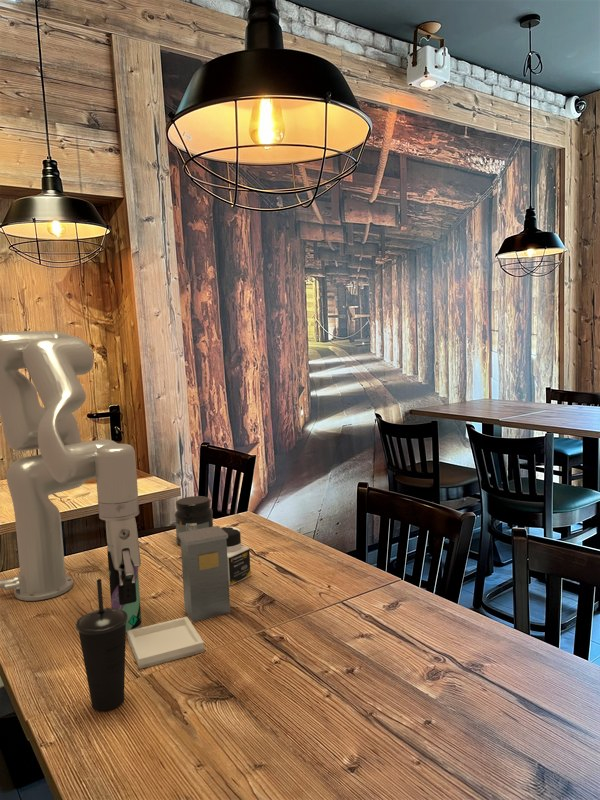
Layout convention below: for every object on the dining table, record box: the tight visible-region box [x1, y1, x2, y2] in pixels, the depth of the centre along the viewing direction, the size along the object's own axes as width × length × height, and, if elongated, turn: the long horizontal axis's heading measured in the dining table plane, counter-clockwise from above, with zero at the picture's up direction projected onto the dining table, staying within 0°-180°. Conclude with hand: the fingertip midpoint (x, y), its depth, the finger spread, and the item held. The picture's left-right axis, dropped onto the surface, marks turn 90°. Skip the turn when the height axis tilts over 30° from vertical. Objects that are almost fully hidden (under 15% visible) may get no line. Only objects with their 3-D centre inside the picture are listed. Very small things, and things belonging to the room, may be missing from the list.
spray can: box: [106, 533, 142, 635], centre depth 117 cm, size 6×6×20 cm
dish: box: [126, 616, 205, 670], centre depth 110 cm, size 12×12×2 cm
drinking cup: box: [75, 578, 128, 712], centre depth 92 cm, size 8×8×20 cm
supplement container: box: [174, 495, 214, 546], centre depth 167 cm, size 10×10×12 cm
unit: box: [178, 525, 231, 623], centre depth 123 cm, size 9×7×17 cm
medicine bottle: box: [220, 526, 252, 587], centre depth 140 cm, size 7×7×12 cm
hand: (125, 596), depth 117 cm, fingers closed on spray can, 5 cm apart
